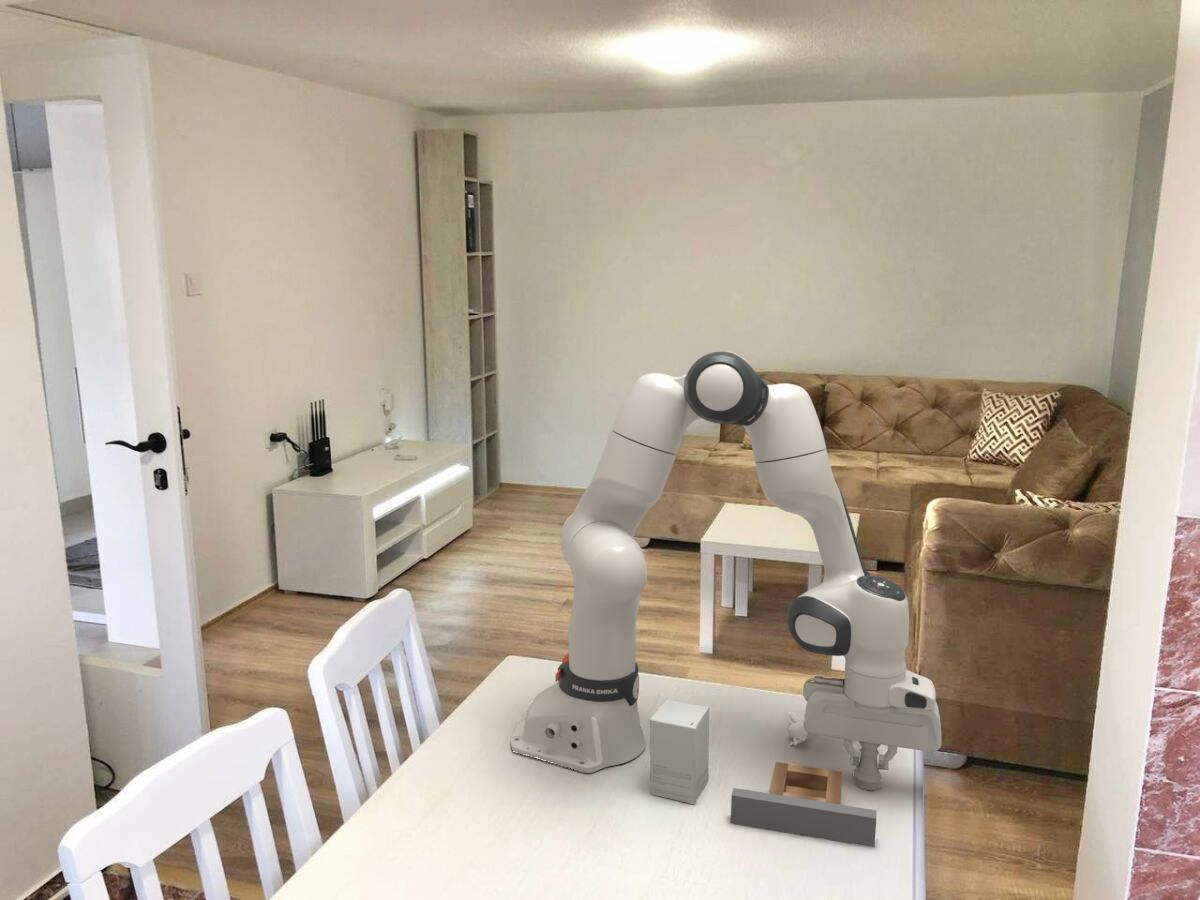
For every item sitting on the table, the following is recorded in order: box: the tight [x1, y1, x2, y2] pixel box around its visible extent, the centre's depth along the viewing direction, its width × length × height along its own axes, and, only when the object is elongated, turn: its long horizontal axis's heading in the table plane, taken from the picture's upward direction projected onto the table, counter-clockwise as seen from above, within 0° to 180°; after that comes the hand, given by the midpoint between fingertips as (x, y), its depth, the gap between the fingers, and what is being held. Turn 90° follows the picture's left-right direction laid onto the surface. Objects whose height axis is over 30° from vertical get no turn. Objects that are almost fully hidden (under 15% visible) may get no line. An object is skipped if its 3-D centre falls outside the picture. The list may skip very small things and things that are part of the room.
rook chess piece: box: [852, 741, 883, 792], centre depth 143 cm, size 4×4×8 cm
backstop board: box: [730, 787, 878, 848], centre depth 132 cm, size 20×2×4 cm, turn 73°
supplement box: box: [649, 698, 710, 805], centre depth 142 cm, size 7×7×13 cm
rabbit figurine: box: [787, 711, 810, 746], centre depth 158 cm, size 6×4×8 cm
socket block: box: [768, 761, 843, 805], centre depth 138 cm, size 10×10×4 cm
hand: (868, 765), depth 144 cm, fingers open, 3 cm apart
